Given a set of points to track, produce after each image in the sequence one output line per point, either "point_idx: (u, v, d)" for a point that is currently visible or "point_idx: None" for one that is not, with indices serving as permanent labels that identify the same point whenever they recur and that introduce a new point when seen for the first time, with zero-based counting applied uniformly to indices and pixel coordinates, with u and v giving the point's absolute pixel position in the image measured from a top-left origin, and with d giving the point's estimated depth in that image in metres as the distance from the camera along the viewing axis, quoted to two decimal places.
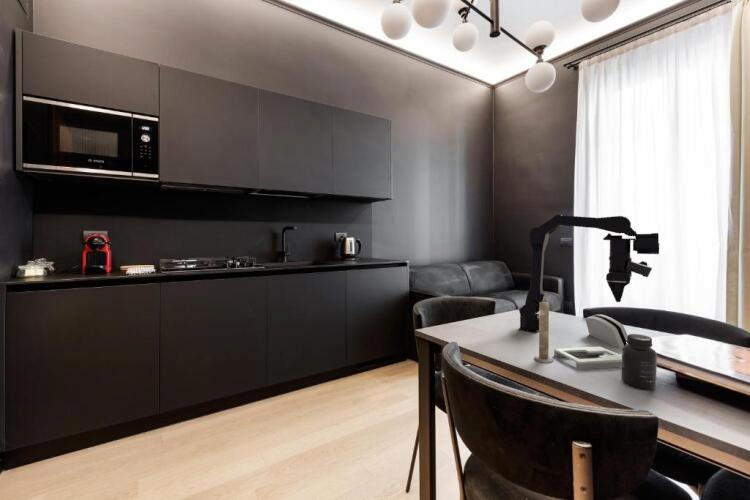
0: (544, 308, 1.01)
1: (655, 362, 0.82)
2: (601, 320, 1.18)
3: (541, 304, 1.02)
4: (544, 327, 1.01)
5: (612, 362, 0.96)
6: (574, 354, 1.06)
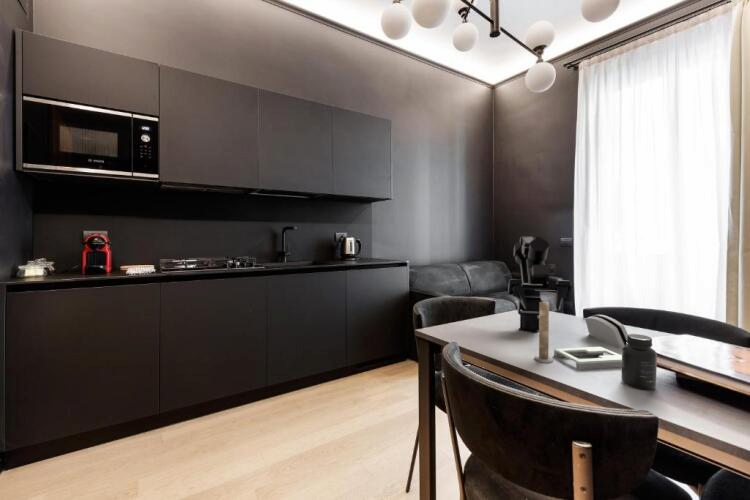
0: (544, 308, 1.01)
1: (655, 362, 0.82)
2: (601, 320, 1.17)
3: (541, 304, 1.02)
4: (544, 327, 1.01)
5: (612, 362, 0.96)
6: (574, 354, 1.06)
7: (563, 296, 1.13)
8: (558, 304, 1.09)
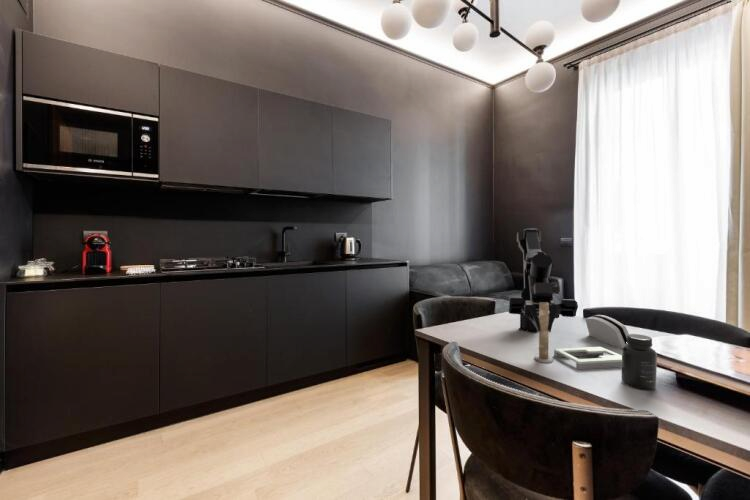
0: (544, 308, 1.01)
1: (655, 362, 0.82)
2: (602, 321, 1.17)
3: (541, 304, 1.02)
4: (544, 327, 1.01)
5: (612, 362, 0.96)
6: (574, 354, 1.06)
7: (556, 316, 1.05)
8: (550, 325, 1.01)
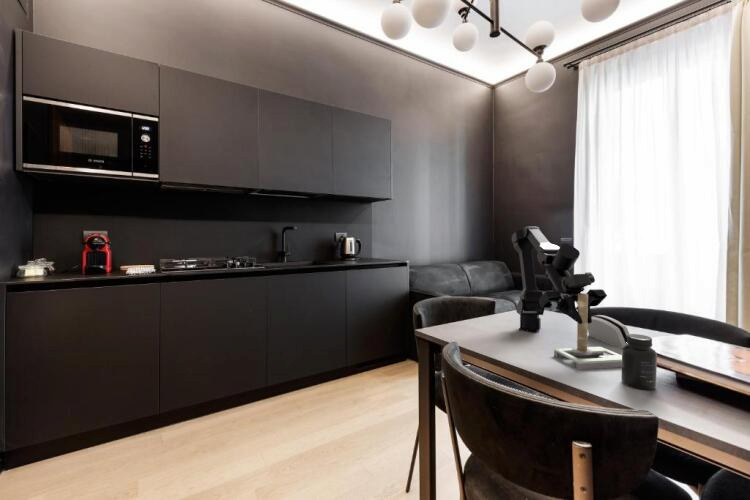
0: (586, 300, 0.99)
1: (655, 362, 0.82)
2: (603, 321, 1.17)
3: (582, 296, 1.00)
4: (585, 319, 1.00)
5: (612, 362, 0.96)
6: (574, 354, 1.06)
7: None
8: (590, 316, 1.00)
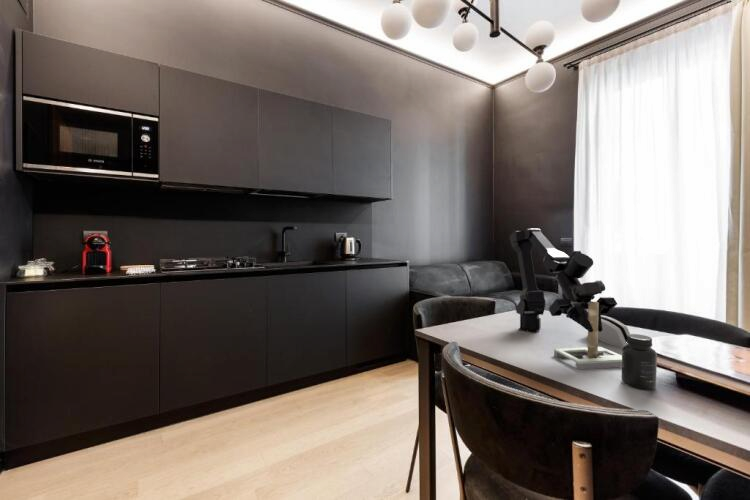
0: (596, 308, 1.00)
1: (655, 362, 0.82)
2: (604, 321, 1.16)
3: (593, 304, 1.00)
4: (596, 327, 1.00)
5: (612, 362, 0.96)
6: (574, 354, 1.06)
7: None
8: (600, 324, 1.01)
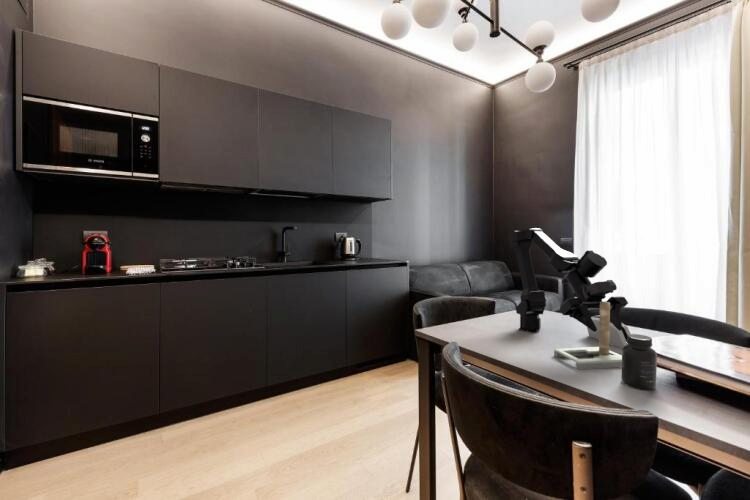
0: (608, 308, 1.00)
1: (655, 362, 0.82)
2: None
3: (604, 304, 1.00)
4: (608, 327, 1.00)
5: (612, 362, 0.96)
6: (574, 354, 1.06)
7: None
8: (620, 323, 1.01)
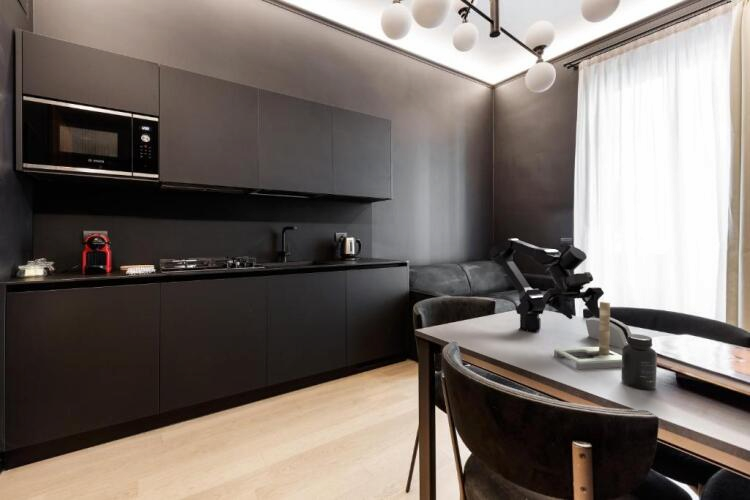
0: (608, 308, 1.00)
1: (655, 362, 0.82)
2: None
3: (604, 304, 1.00)
4: (608, 327, 1.00)
5: (612, 362, 0.96)
6: (574, 354, 1.06)
7: None
8: (597, 311, 1.11)
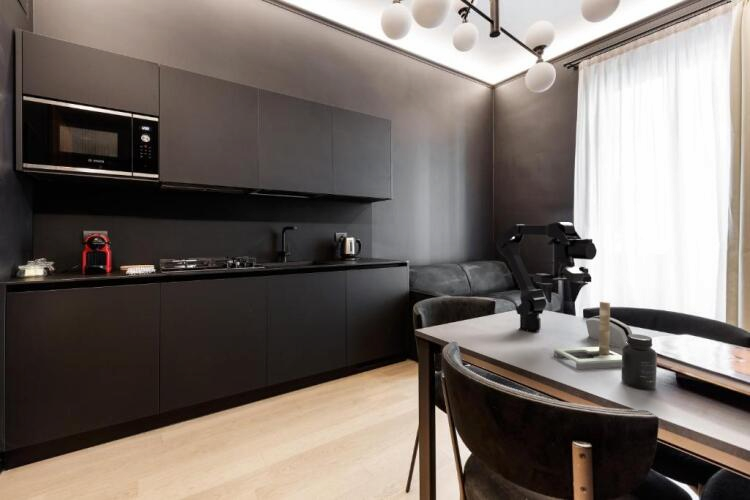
0: (608, 308, 1.00)
1: (655, 362, 0.82)
2: None
3: (604, 304, 1.00)
4: (608, 327, 1.00)
5: (612, 362, 0.96)
6: (574, 354, 1.06)
7: None
8: (575, 297, 1.22)
